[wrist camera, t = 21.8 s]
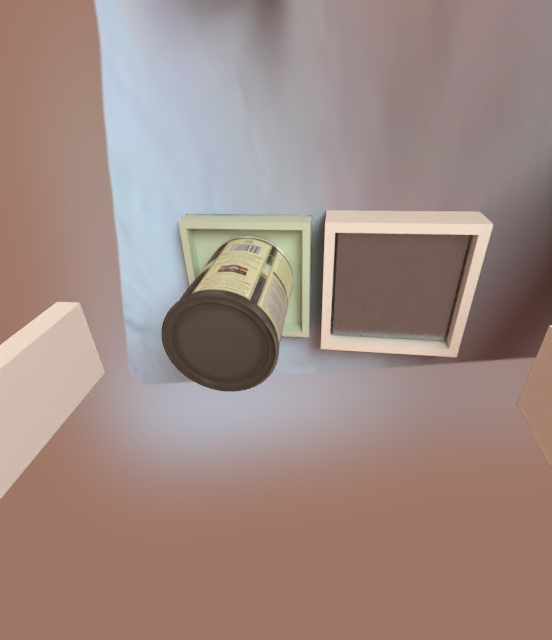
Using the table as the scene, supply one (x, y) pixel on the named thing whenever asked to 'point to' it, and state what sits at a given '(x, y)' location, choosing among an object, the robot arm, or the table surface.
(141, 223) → the table surface
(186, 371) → the coffee can
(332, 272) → the checker cradle
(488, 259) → the table surface
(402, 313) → the plate
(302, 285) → the tray
